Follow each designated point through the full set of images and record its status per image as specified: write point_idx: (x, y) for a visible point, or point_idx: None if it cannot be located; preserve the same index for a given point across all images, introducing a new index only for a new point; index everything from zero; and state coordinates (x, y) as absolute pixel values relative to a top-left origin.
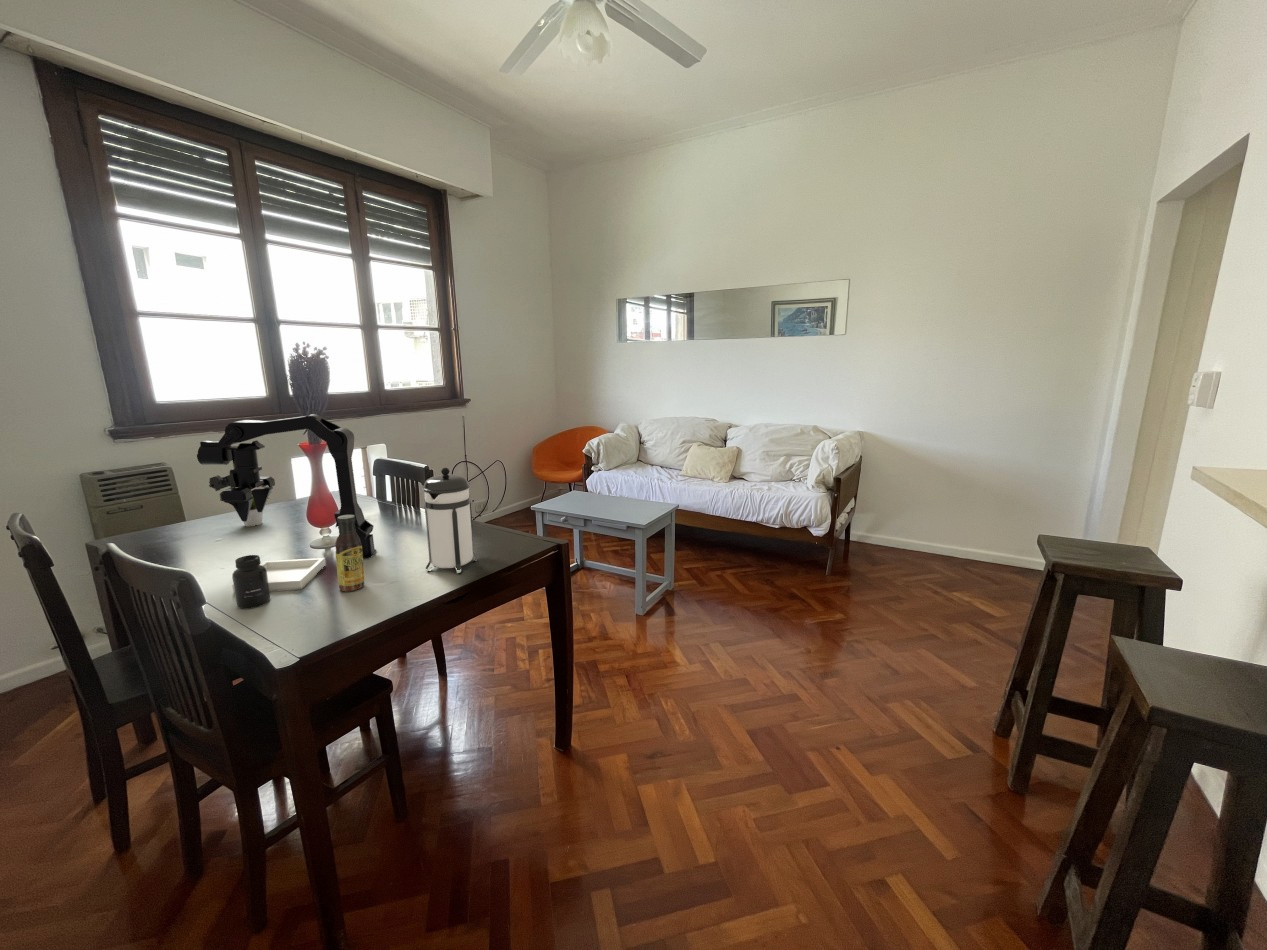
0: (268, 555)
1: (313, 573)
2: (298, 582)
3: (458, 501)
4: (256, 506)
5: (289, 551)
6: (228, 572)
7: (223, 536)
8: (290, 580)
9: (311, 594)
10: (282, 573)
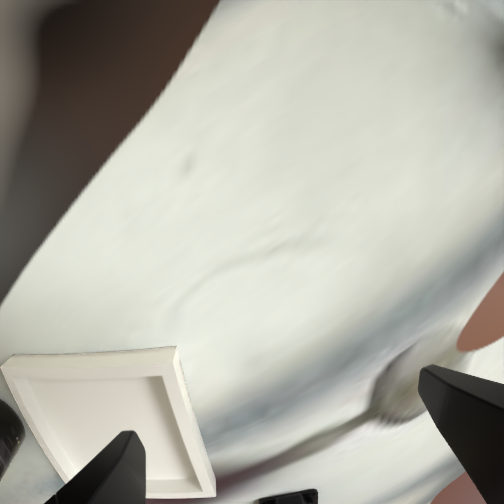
0: (328, 261)
1: None
2: None
3: None
4: (453, 392)
5: (362, 315)
6: (144, 222)
7: (476, 11)
8: (63, 476)
9: None
10: (133, 422)
